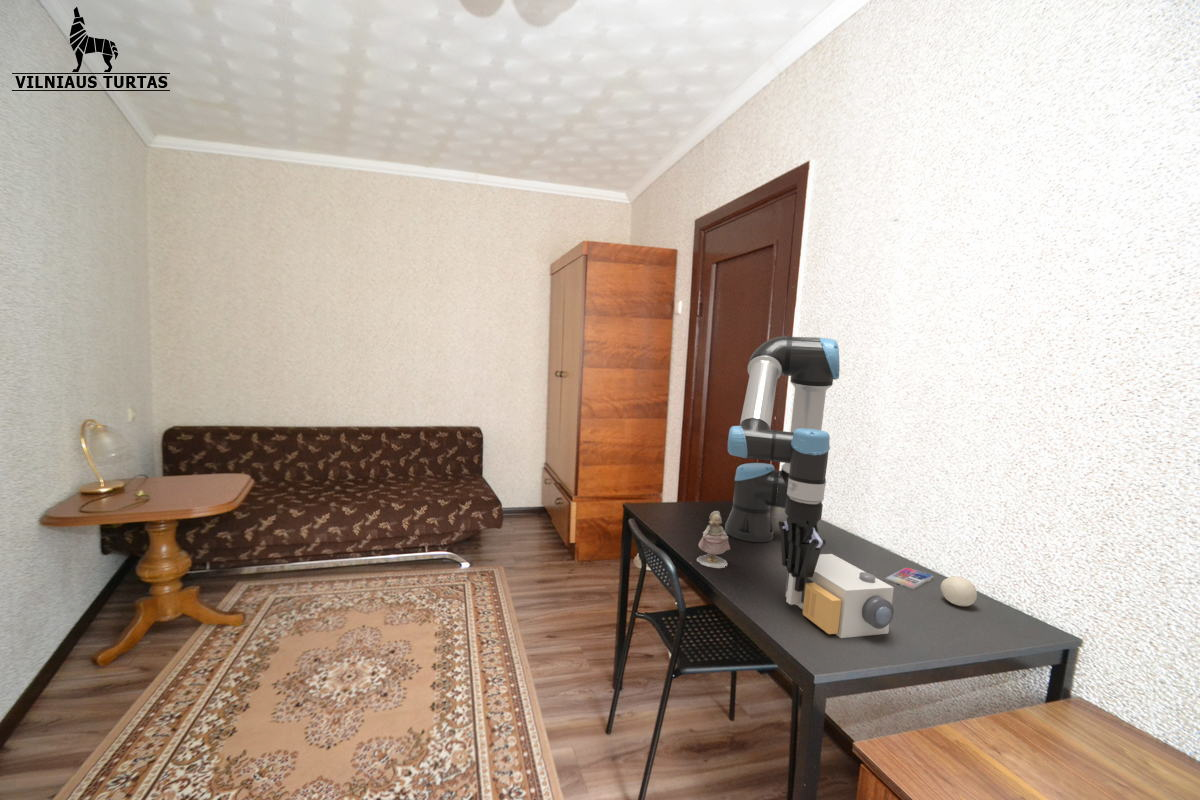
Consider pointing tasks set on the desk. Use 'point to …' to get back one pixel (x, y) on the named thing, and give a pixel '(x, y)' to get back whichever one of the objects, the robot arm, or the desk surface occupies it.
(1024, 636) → the desk surface
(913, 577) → the smartphone
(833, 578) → the block
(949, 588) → the cream round ball
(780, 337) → the robot arm
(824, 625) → the side door
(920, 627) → the desk surface
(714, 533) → the figurine
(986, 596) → the desk surface
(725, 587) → the desk surface
